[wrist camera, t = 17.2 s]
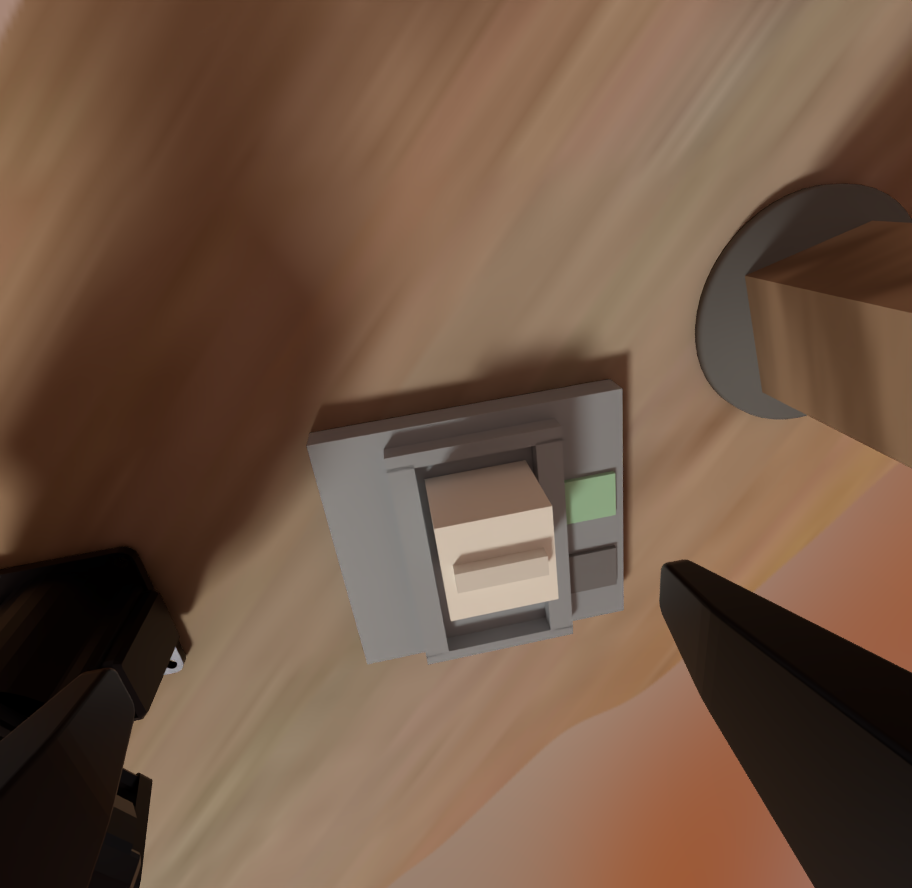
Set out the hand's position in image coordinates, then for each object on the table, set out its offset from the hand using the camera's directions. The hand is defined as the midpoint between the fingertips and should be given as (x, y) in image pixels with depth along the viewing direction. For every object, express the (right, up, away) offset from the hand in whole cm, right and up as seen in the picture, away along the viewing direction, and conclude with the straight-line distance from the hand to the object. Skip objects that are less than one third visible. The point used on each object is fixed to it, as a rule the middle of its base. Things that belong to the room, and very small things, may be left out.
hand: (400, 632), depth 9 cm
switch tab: (+2, 0, +13) cm, 13 cm away
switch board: (+2, 0, +15) cm, 15 cm away
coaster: (+15, +8, +13) cm, 21 cm away
